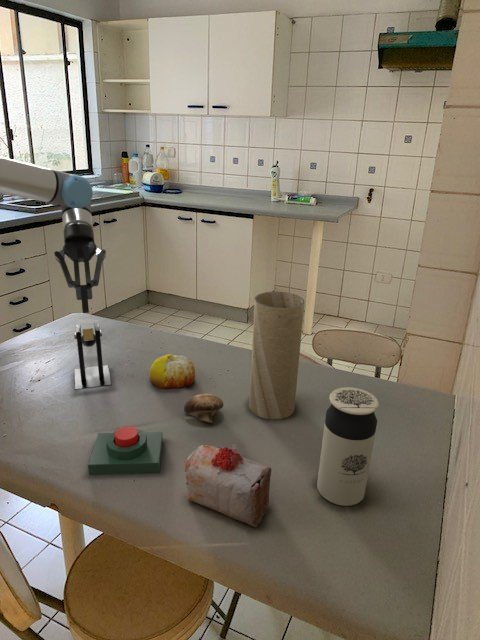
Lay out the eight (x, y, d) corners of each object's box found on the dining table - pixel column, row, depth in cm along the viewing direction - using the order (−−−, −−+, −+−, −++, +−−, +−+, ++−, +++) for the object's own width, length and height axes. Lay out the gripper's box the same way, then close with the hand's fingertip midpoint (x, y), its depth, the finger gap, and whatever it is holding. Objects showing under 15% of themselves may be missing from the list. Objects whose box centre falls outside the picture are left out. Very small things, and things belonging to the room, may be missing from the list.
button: (113, 448, 81) (112, 439, 81) (117, 434, 85) (116, 426, 84) (136, 447, 82) (136, 439, 81) (139, 433, 85) (138, 425, 85)
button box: (89, 474, 80) (86, 456, 79) (99, 442, 88) (97, 424, 87) (159, 472, 81) (158, 454, 80) (162, 441, 89) (162, 423, 88)
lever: (82, 348, 115) (80, 333, 116) (97, 346, 116) (95, 332, 117) (80, 342, 103) (79, 326, 103) (97, 341, 104) (95, 325, 104)
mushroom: (217, 421, 90) (211, 390, 92) (181, 429, 93) (175, 398, 94) (231, 419, 98) (225, 390, 99) (197, 426, 100) (192, 398, 101)
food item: (177, 502, 75) (176, 452, 71) (203, 472, 82) (203, 426, 78) (253, 535, 69) (257, 483, 66) (274, 500, 76) (278, 451, 72)
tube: (274, 389, 109) (282, 288, 99) (303, 410, 101) (315, 302, 92) (240, 402, 103) (244, 296, 94) (268, 424, 96) (276, 312, 86)
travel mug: (315, 471, 83) (326, 384, 76) (360, 476, 82) (375, 388, 75) (318, 504, 76) (330, 411, 69) (367, 509, 75) (384, 415, 68)
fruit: (179, 398, 103) (170, 365, 101) (145, 396, 109) (135, 365, 107) (207, 376, 112) (198, 345, 110) (174, 376, 118) (165, 347, 116)
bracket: (74, 373, 113) (68, 320, 107) (108, 369, 115) (104, 317, 110) (75, 394, 104) (68, 338, 99) (112, 389, 106) (107, 334, 101)
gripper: (104, 237, 128) (112, 314, 120) (53, 238, 124) (59, 318, 116) (103, 221, 122) (112, 302, 114) (50, 222, 118) (56, 306, 109)
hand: (85, 310), depth 115 cm, fingers closed
